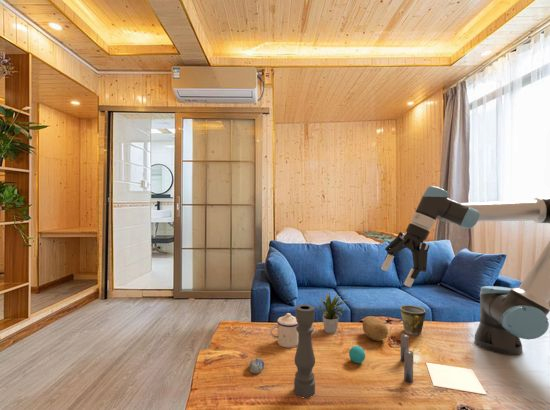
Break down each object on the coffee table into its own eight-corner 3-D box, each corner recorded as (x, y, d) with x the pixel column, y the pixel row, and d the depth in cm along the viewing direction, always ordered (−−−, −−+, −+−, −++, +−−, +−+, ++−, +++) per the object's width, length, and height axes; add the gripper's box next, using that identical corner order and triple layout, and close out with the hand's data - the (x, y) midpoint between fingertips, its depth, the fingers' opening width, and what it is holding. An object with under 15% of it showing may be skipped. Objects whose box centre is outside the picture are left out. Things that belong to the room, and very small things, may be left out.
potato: (378, 330, 134) (379, 312, 134) (393, 345, 120) (394, 325, 120) (357, 331, 133) (357, 313, 133) (369, 346, 119) (369, 326, 119)
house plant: (340, 342, 122) (340, 301, 122) (308, 334, 129) (309, 296, 129) (351, 330, 134) (351, 292, 134) (322, 323, 141) (322, 288, 141)
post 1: (408, 359, 109) (408, 334, 109) (408, 363, 107) (409, 337, 107) (400, 358, 110) (400, 333, 110) (400, 362, 107) (401, 336, 107)
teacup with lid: (295, 336, 127) (296, 308, 127) (302, 346, 118) (303, 317, 118) (267, 339, 124) (267, 311, 124) (272, 350, 116) (272, 319, 115)
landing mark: (471, 369, 103) (471, 369, 103) (486, 395, 89) (486, 394, 89) (425, 363, 107) (425, 362, 107) (433, 386, 93) (433, 385, 93)
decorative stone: (250, 359, 106) (263, 354, 106) (254, 371, 105) (267, 366, 105) (244, 364, 100) (257, 359, 100) (248, 378, 99) (262, 372, 98)
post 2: (412, 379, 97) (412, 350, 97) (413, 383, 95) (413, 354, 95) (403, 377, 98) (403, 349, 98) (404, 382, 95) (404, 353, 95)
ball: (365, 359, 109) (365, 344, 109) (365, 367, 104) (365, 351, 104) (349, 357, 111) (349, 342, 111) (348, 364, 105) (348, 349, 105)
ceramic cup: (397, 326, 138) (397, 304, 138) (420, 327, 137) (421, 305, 137) (405, 339, 125) (405, 315, 125) (431, 341, 124) (431, 316, 124)
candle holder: (292, 385, 93) (293, 304, 93) (312, 384, 94) (313, 303, 93) (295, 398, 87) (296, 311, 87) (317, 397, 88) (317, 311, 87)
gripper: (391, 214, 124) (368, 261, 126) (438, 233, 100) (410, 290, 102) (405, 221, 126) (382, 266, 128) (454, 240, 103) (426, 296, 105)
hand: (394, 277), depth 115 cm, fingers open, 13 cm apart
